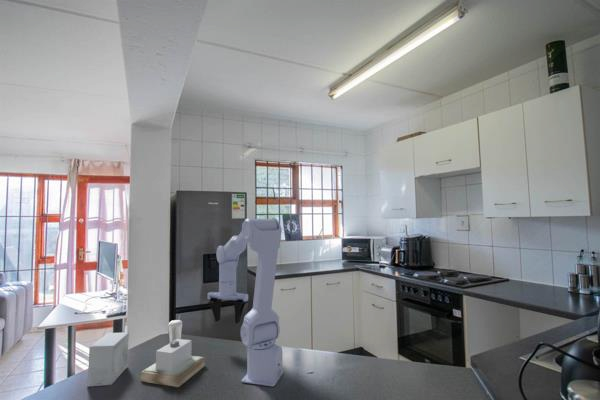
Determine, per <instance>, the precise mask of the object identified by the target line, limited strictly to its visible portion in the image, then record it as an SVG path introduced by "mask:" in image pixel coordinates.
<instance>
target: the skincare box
mask: <svg viewBox="0 0 600 400" xmlns="http://www.w3.org/2000/svg"><path fill="white" fill-rule="evenodd" d="M129 334H130V333H129V332H128V331H127V332H125V331H124V332H107V333H106V334H104V335H103V336H102V337H101V338H99V339H98V340H96V341H95V342H94V343H92V345H90V346H89V350H88V351H89V352H88V353H89V354H88V371H87V379H86V380H87V381H86V383H87V384H86V387H87V388H88V387H101V386H112V385H113V384H114V383H115V382H116V380H117V379H118V378H119V377H120V376H121V375H122V373H123V372H124V371H125V370H126V369H127V368H128V355H129V336H130V335H129Z"/></svg>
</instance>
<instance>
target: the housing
mask: <svg viewBox="0 0 600 400" xmlns="http://www.w3.org/2000/svg"><path fill="white" fill-rule="evenodd" d="M192 343H193V342H192V339H183V338H181V339H176V340H174V341H173V342H171V343H170V342H169V343H168V344H166V345H164V346H162V347H161V348H159V349H157V350H156V351H155V363H156V370H160V371H168V372H172V371H173V370H175V369H176V368H177V367H179V366H180V365H182V364H183V363H184V362H186V361H187V360H189V359H190V358H191V356H192V347H193V346H192Z"/></svg>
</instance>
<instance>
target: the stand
mask: <svg viewBox="0 0 600 400" xmlns="http://www.w3.org/2000/svg"><path fill="white" fill-rule="evenodd" d="M205 359H206V358H205V357H204V356H198V355H197V356H196V355H191V358H190V359H189V360H187V361H186V362H184V363H183V364H182V365H180V366H179V367H177V368H176V369H175V370H173V371H172V372H168V371H160V370H156V362H154V363H153V364H152V365H150V366H148V367H146V368H145V369H144V370H142V371H140V375H141V376H140V382H144V383H150V384H156V385H162V386H168V387H175V388H179V387H181V386H182V385H183V384H184V383H186V382H187V381H188V380H189V379H191V378H192V377H193V376H194V375H195V374H197V373H198V372H200V371H201V370H202V369H204V367H205V363H206V362H205Z"/></svg>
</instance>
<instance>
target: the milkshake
mask: <svg viewBox="0 0 600 400" xmlns="http://www.w3.org/2000/svg"><path fill="white" fill-rule="evenodd" d="M180 319H181V314H178V319H174V320H171V321H170V322H169V323H168V335H169V337H168V338H169V343H171V342H173V341H174V340H176V339H182V332H183V331H182V329H183V321H182V320H180Z"/></svg>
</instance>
